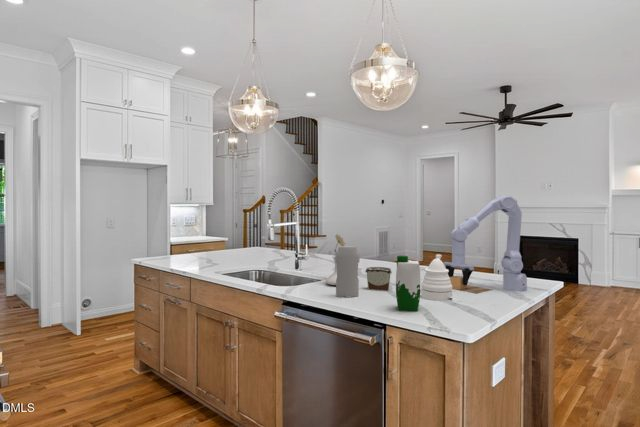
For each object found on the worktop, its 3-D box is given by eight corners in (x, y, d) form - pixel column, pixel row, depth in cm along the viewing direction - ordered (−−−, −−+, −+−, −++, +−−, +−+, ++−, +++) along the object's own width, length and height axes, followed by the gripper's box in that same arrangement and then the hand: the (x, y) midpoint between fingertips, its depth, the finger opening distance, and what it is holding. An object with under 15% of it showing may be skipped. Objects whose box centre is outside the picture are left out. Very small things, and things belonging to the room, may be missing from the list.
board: (493, 292, 182) (493, 289, 182) (476, 296, 173) (476, 293, 173) (462, 286, 195) (462, 283, 195) (444, 290, 186) (444, 287, 186)
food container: (393, 288, 189) (393, 267, 189) (391, 291, 183) (391, 269, 183) (367, 286, 193) (368, 266, 193) (365, 289, 187) (365, 268, 187)
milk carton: (395, 305, 158) (396, 254, 158) (419, 306, 157) (419, 255, 156) (395, 311, 150) (396, 257, 149) (420, 312, 148) (421, 258, 147)
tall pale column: (335, 297, 170) (335, 246, 170) (334, 295, 175) (334, 245, 174) (360, 297, 171) (360, 245, 171) (358, 295, 175) (358, 244, 175)
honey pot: (427, 292, 181) (427, 252, 181) (456, 296, 174) (456, 254, 174) (416, 297, 171) (417, 255, 170) (446, 302, 163) (447, 258, 163)
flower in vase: (349, 287, 192) (349, 235, 191) (325, 287, 192) (325, 234, 191) (347, 281, 205) (348, 233, 204) (325, 281, 205) (325, 232, 204)
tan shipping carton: (466, 288, 185) (466, 277, 185) (459, 289, 182) (460, 278, 182) (456, 286, 189) (456, 275, 189) (449, 287, 186) (449, 276, 186)
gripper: (439, 253, 189) (439, 282, 189) (467, 256, 177) (467, 287, 177) (448, 252, 193) (448, 280, 193) (476, 255, 181) (476, 285, 182)
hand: (458, 283), depth 186 cm, fingers open, 7 cm apart
